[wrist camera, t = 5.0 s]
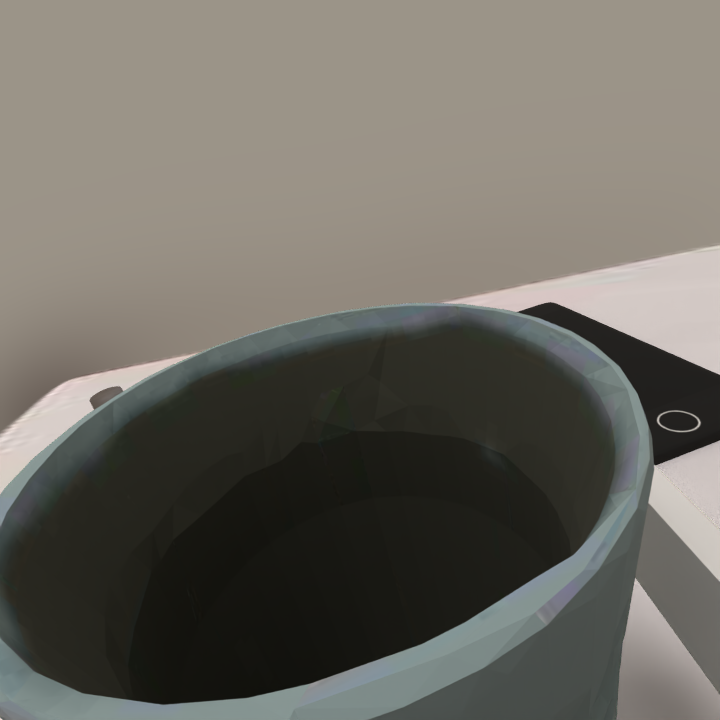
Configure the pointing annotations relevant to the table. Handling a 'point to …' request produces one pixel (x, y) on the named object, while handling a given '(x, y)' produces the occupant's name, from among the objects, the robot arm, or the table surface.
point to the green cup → (336, 530)
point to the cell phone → (653, 383)
